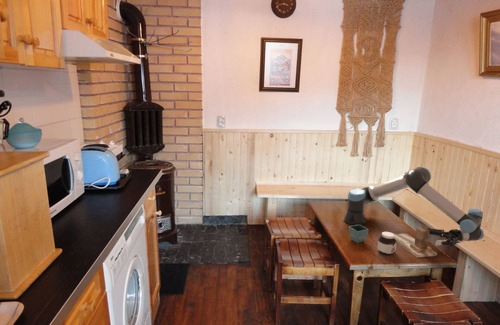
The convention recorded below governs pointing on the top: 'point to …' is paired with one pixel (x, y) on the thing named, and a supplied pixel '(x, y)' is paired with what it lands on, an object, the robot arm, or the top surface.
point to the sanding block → (421, 240)
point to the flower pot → (358, 233)
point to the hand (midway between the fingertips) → (427, 237)
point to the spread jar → (387, 243)
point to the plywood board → (407, 240)
